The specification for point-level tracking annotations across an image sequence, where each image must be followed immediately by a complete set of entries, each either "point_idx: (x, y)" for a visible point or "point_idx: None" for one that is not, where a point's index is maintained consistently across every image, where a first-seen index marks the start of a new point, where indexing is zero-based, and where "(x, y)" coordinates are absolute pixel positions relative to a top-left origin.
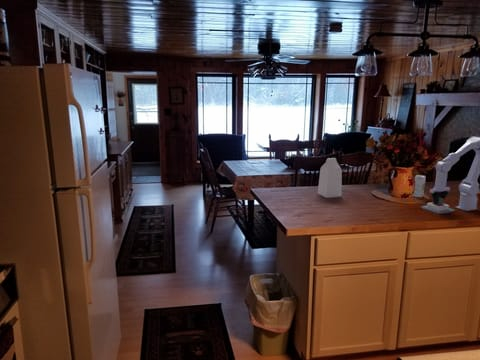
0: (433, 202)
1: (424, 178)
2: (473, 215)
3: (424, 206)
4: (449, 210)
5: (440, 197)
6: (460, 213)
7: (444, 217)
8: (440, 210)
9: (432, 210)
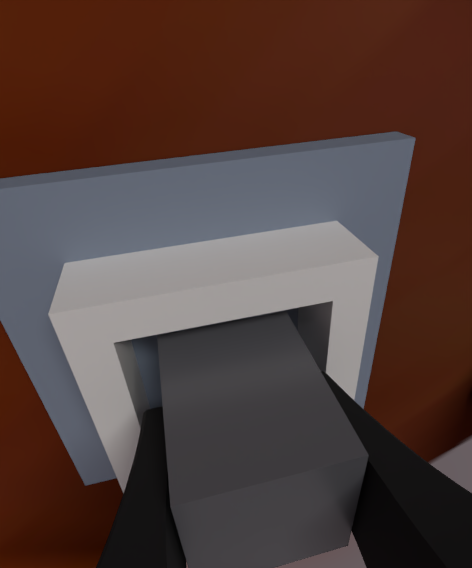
0: (163, 394)
1: None
2: None
3: (35, 219)
4: None
5: (351, 500)
6: None
7: (68, 535)
8: None
9: (51, 413)
